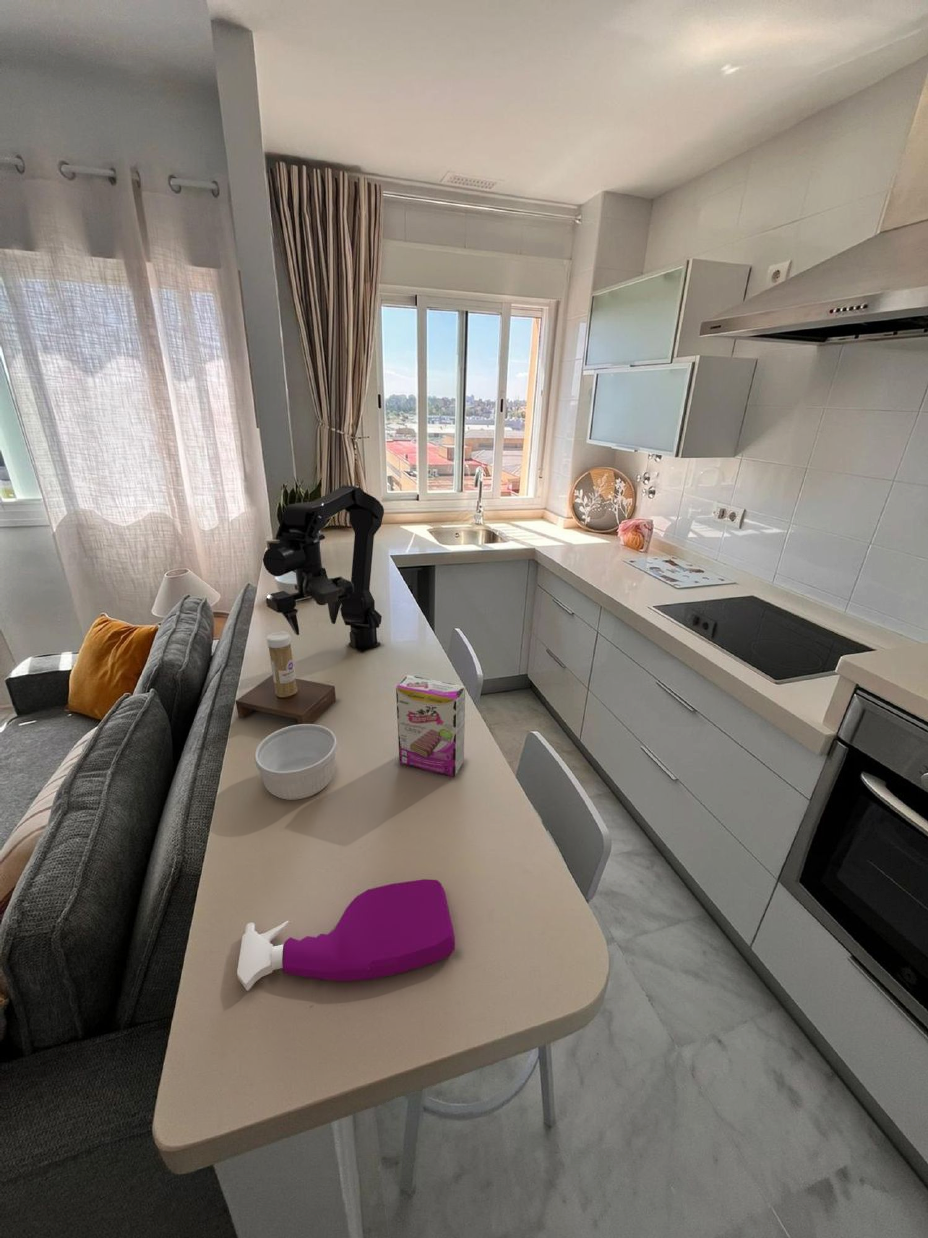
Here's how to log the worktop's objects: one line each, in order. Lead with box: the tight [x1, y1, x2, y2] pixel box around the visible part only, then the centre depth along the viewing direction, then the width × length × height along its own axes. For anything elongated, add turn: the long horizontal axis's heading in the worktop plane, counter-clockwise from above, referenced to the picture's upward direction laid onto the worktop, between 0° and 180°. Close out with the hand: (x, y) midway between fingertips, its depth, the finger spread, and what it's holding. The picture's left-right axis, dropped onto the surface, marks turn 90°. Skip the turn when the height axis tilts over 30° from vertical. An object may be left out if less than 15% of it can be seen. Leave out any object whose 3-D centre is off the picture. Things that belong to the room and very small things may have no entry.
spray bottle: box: [236, 878, 456, 992], centre depth 59 cm, size 3×11×24 cm
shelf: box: [235, 674, 337, 725], centre depth 106 cm, size 12×16×4 cm
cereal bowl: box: [274, 571, 305, 596], centre depth 171 cm, size 17×17×7 cm
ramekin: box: [254, 723, 338, 801], centre depth 85 cm, size 13×13×7 cm
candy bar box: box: [395, 674, 466, 778], centre depth 87 cm, size 11×5×16 cm, turn 71°
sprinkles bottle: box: [266, 631, 297, 697], centre depth 102 cm, size 5×5×13 cm
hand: (315, 628), depth 114 cm, fingers open, 9 cm apart
